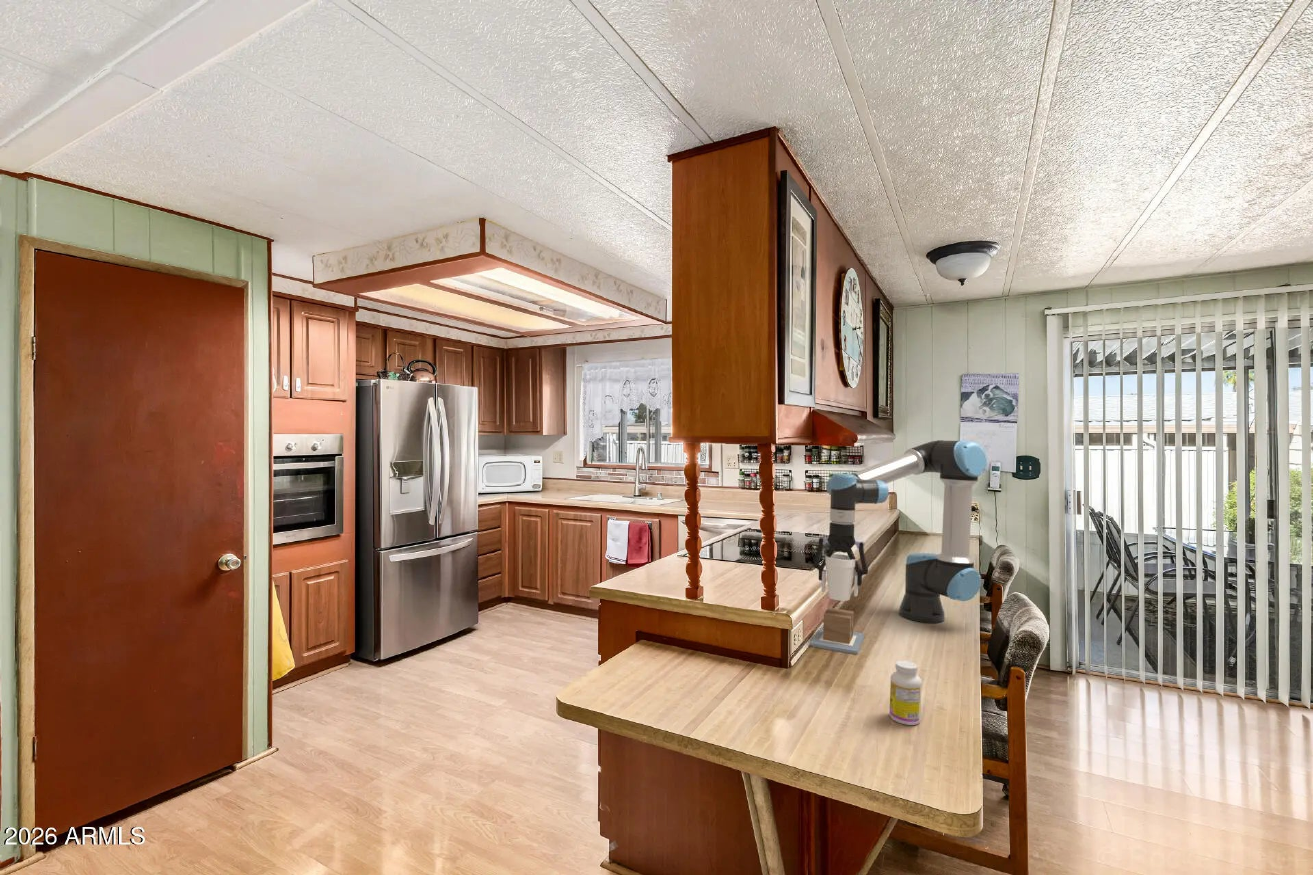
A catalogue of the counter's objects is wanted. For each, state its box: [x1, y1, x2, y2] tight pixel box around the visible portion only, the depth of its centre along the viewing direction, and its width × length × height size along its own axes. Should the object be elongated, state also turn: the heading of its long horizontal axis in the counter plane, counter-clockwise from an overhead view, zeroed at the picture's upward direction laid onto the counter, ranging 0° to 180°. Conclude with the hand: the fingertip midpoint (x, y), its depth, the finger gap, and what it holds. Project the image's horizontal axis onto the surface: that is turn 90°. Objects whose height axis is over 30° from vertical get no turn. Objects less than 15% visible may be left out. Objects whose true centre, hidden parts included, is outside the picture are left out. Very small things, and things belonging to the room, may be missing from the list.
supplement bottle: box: [889, 660, 923, 726], centre depth 138 cm, size 7×7×13 cm
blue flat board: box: [809, 626, 866, 655], centre depth 189 cm, size 18×14×1 cm
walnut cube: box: [822, 607, 855, 644], centre depth 189 cm, size 8×8×8 cm
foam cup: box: [824, 553, 857, 602], centre depth 189 cm, size 10×9×13 cm
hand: (839, 593), depth 189 cm, fingers closed on foam cup, 9 cm apart
